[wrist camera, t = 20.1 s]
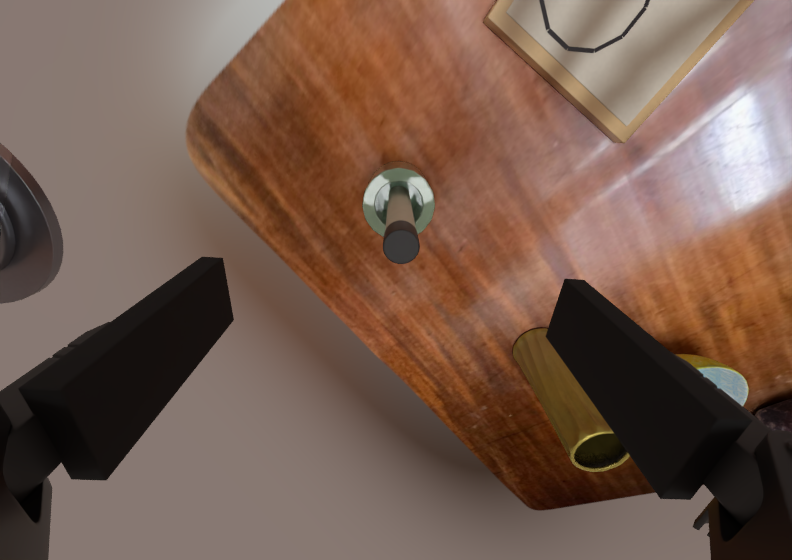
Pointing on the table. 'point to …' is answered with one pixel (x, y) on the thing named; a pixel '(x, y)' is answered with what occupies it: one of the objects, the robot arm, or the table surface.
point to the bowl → (720, 376)
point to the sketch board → (613, 50)
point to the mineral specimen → (777, 416)
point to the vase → (568, 405)
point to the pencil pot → (381, 186)
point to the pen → (400, 228)
